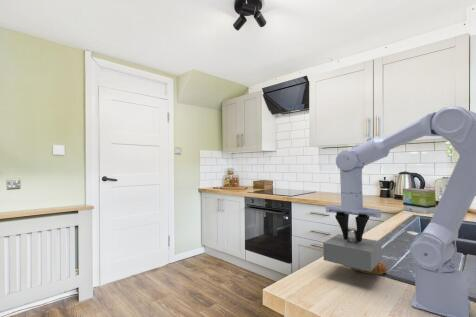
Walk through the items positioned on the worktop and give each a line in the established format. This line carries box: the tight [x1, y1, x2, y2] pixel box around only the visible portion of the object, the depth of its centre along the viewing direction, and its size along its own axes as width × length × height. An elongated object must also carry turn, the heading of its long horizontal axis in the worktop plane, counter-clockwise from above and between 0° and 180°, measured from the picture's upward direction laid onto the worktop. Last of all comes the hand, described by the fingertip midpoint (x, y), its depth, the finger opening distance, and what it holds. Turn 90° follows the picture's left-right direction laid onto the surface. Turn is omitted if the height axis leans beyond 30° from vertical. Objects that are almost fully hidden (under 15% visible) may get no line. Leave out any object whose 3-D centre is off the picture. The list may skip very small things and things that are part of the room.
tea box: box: [402, 187, 437, 215], centre depth 164 cm, size 15×10×15 cm
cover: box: [322, 227, 383, 272], centre depth 72 cm, size 12×12×8 cm
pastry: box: [350, 262, 387, 276], centre depth 76 cm, size 9×7×4 cm
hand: (352, 239), depth 72 cm, fingers closed on cover, 3 cm apart
